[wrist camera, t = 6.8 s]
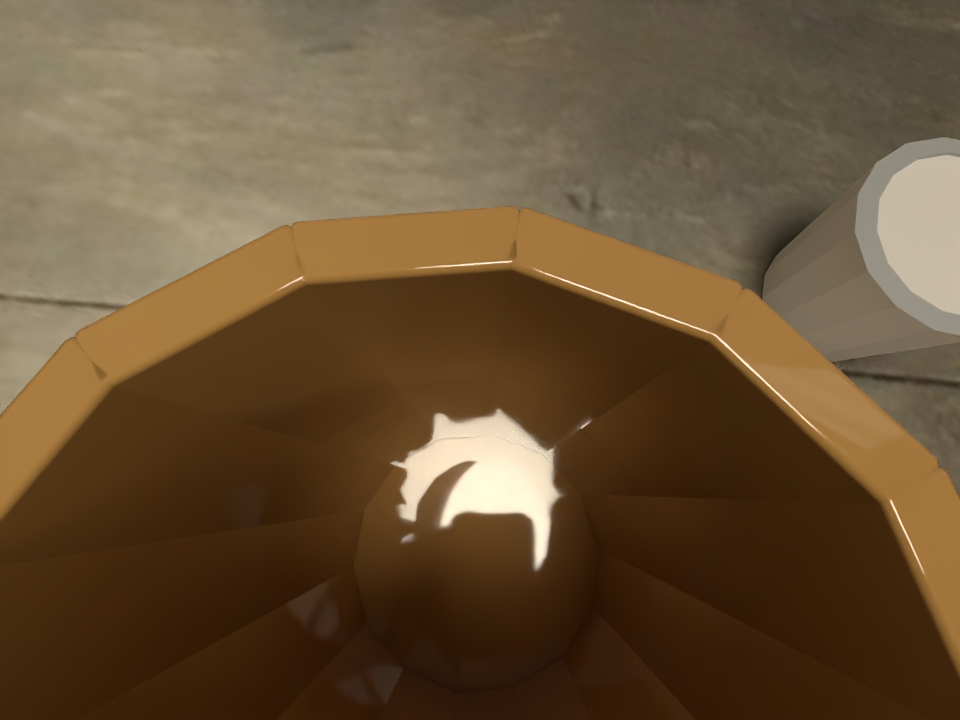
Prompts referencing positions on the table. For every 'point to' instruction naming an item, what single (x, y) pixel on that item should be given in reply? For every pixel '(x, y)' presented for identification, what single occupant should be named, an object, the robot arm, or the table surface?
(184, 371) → the hollow tan tube
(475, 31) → the table surface
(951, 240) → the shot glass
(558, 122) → the table surface
